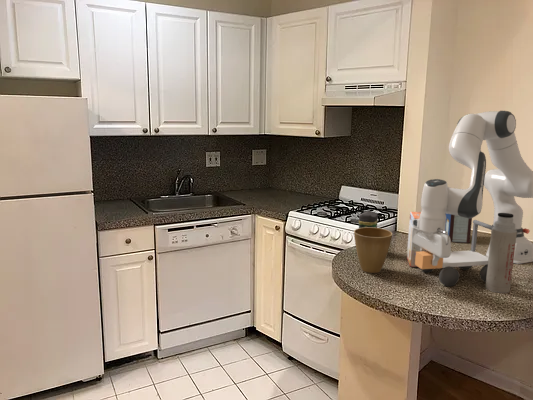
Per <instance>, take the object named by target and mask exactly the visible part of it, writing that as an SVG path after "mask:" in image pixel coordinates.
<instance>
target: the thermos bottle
mask: <svg viewBox="0 0 533 400" xmlns="http://www.w3.org/2000/svg"><path fill="white" fill-rule="evenodd" d="M490 232H491V233H490V242H489V245H490V249H489V259H488V268H487V277H486V282H485V288H486V290H488V291H490V292H494V293H498V294H499V293H500V294H507V293H510V291H511V285H512V284H511V283H512V275H513V268H514V267H513V266H514V263H513V260H514V251H515V243H516V235H517V230H515V224H514V223H513V214H509V213H498V220H497V221H496V222H495V223H494V227H492V231H491V230H490Z"/></svg>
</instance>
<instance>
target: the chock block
mask: <svg viewBox="0 0 533 400" xmlns="http://www.w3.org/2000/svg"><path fill="white" fill-rule="evenodd" d="M431 260H433V253H431V252H429V251H427V250H426V251H419V252H416V257H415V265H416V266H418V267H417V268H419V269H420V268H421V269H434V270H435V269H443V268H442V267H443V258H439V260H438V263H437V266H433V265H431ZM421 269H420V270H421Z"/></svg>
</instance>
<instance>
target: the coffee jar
mask: <svg viewBox="0 0 533 400" xmlns="http://www.w3.org/2000/svg"><path fill="white" fill-rule="evenodd" d="M378 219H379V218H378V213H376V212H375V211H369V210H367V211H365V212H362V213H361V214H359V215H358V228H365V227H373V228H378Z"/></svg>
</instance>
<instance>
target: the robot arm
mask: <svg viewBox="0 0 533 400" xmlns="http://www.w3.org/2000/svg"><path fill="white" fill-rule="evenodd" d="M456 124H457V125H456V127H455V128H454V131H453V132H452V135H451V137H450V141H449V143H448V151H449V152H448V153H449V154H450V156H451V157H452V159H453V160H454V161H456V162H457V163H458V164H461V165H463V166H465V167H467V168H469V169H471V174H470V179H469V187H468V188H457V187H456V188H455V187H454V188H453V187H449V186H448V181H446V180H444V179H438V178H434V179H433V178H432V179H429V180H426V181H424V184H423V187H422V192H421V198H420V208H421V211H420V212H421V214H420V219H413V220H412V225H414V226H413V228H412V241H413V243H414V244H416V245H418V246H420V251H429V252H431V253H433V260H431V265H433V266H437V263H438V260H439V258H448V257H449V256H450V255H451V251H452V242H451V240H450V237H449V235H448V233H447V231H445V225H446V214H451V215H457V216H461V217H465V218H469V219H471V218H472V219H473V218H475V217H477V216H478V215H479V214H480V213H481V212H482V209H483V195H484V188H485V189H486V190H487V191H488V193H489V195H490V197H491V199H492V201H493V208H494V209H493V222H492V223H493V224H492V226H494V223H495V222H496V221H497V220H498V213H509V214H513V223H514V224H515V230H517V235H516V243H515V251H514V260H513V264H515V265H516V264H518V265H519V264H525V263H531V262H533V242H532V241H530V240H529V239H528V238H527V237H526V236H525V234H526V235H528V234H529V233H530V231H531V230H530V229H529V228H523V227H522V224H523V217H524V211H523V208H522V207H521V206H520V205H519V203H517V201H516V199H515V197H516V198H522V199H527V198H528V199H533V170H532V169H531V168H530V167H529V166H528V164H527V162H525V160H524V159H523V156H522V154H521V151H520V149H519V145H518V141H517V136H516V134H515V131H516V128H517V127H516V126H517V119H516V117H515V115H514V114H513V112H511V111H508V110H499V111H497V110H496V111H495V110H494V111H491V110H490V111H483V112H478V113H469V114H465V115H464V116H462V117H460V119H459V120H458V121H457V123H456ZM483 141H485V143H486V148H487V151H488V153H489V158H490V161H491V164H492V165H493V166H494V167H495V168H494V169H489V170H487V159H486V154H485V153H484V152H483V151H482V144H483ZM486 170H487V172H486ZM445 213H446V214H445ZM491 231H492V230H490V232H491ZM489 249H490V244H488V248H487V250H486V253H485V256H487V257H489Z"/></svg>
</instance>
